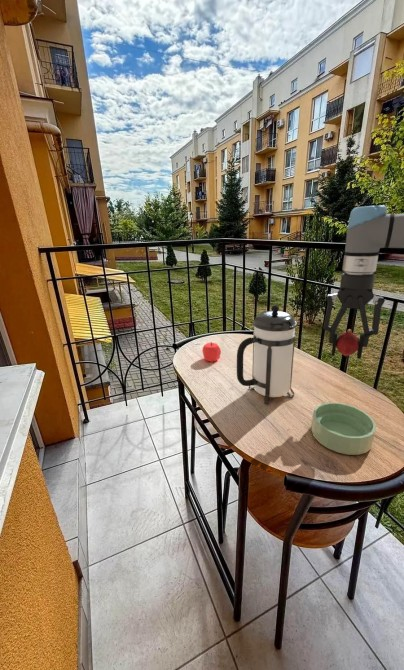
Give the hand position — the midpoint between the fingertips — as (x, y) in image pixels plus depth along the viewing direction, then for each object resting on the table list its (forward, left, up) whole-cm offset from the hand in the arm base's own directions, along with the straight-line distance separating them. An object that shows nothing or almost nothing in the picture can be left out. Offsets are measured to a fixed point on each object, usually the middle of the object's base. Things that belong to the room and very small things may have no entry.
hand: (345, 355), depth 79 cm
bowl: (0, +14, -17) cm, 22 cm away
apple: (+48, -19, -17) cm, 54 cm away
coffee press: (+21, 0, -17) cm, 27 cm away
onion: (0, 0, 0) cm, 0 cm away
